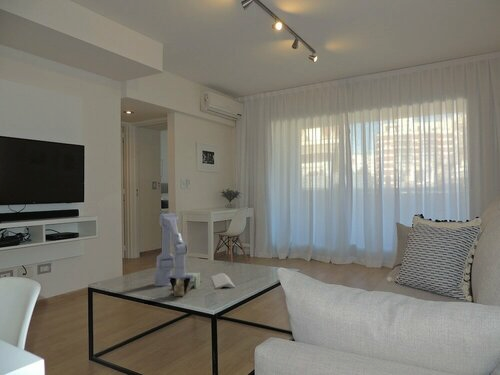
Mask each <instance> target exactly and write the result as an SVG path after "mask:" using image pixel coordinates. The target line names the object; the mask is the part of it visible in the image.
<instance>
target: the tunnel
mask: <svg viewBox="0 0 500 375" xmlns="http://www.w3.org/2000/svg"><path fill="white" fill-rule="evenodd" d="M186 274H190V275H194V279H193V281H194V285H193V287H194V289H198V287H199V286H200V285H201V282H200V281H201V272H186ZM180 281H184V279H178V283H179V282H180Z"/></svg>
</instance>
